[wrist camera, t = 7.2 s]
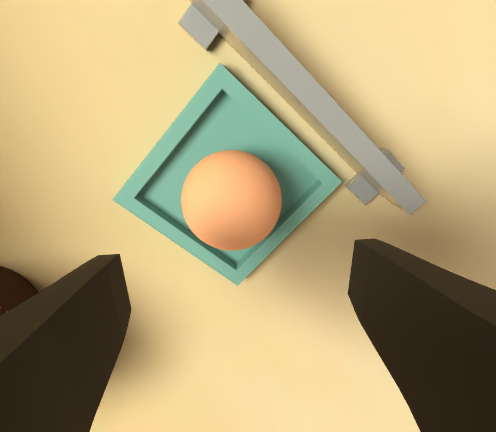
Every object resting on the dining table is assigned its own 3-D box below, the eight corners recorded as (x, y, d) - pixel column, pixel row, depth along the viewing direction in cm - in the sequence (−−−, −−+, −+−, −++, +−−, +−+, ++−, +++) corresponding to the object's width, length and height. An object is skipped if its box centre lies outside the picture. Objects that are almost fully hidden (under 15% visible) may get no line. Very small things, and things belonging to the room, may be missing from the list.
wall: (398, 165, 19) (443, 186, 15) (361, 201, 19) (394, 229, 16) (220, -32, 14) (221, -71, 11) (179, 24, 15) (167, 6, 11)
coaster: (335, 176, 19) (342, 181, 18) (236, 275, 21) (237, 285, 20) (219, 63, 16) (220, 62, 15) (118, 193, 18) (112, 199, 17)
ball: (287, 172, 18) (315, 202, 14) (240, 238, 19) (251, 286, 15) (214, 123, 16) (218, 139, 12) (168, 199, 18) (155, 239, 13)
